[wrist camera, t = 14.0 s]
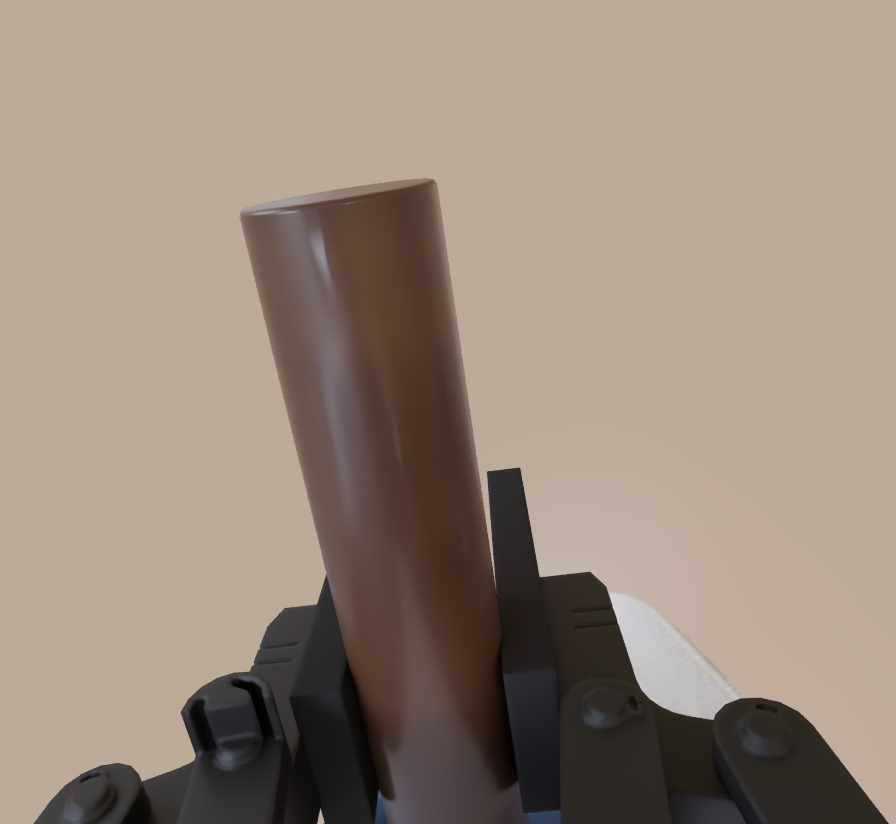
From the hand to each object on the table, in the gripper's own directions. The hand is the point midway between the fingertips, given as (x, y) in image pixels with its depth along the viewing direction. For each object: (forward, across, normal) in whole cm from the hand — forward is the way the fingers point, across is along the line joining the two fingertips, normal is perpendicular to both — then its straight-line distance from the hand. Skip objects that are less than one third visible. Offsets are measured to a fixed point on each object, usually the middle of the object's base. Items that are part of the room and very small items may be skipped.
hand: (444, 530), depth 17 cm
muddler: (-5, 0, -12) cm, 13 cm away
